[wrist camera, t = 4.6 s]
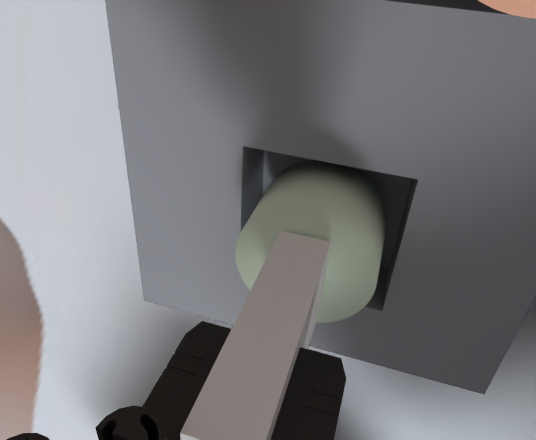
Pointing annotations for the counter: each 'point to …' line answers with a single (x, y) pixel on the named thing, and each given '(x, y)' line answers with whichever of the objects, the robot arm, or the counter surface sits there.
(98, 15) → the counter surface
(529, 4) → the terracotta button
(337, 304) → the sage button
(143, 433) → the robot arm
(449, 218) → the console
